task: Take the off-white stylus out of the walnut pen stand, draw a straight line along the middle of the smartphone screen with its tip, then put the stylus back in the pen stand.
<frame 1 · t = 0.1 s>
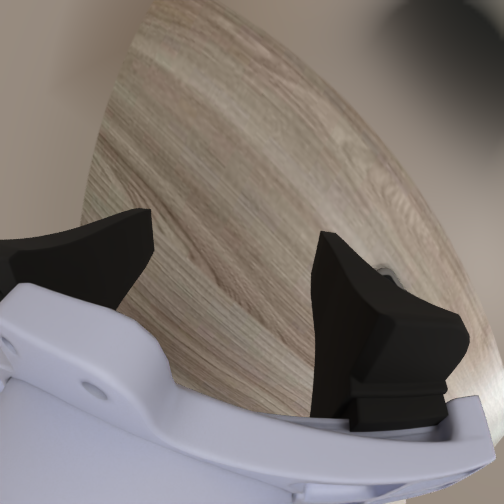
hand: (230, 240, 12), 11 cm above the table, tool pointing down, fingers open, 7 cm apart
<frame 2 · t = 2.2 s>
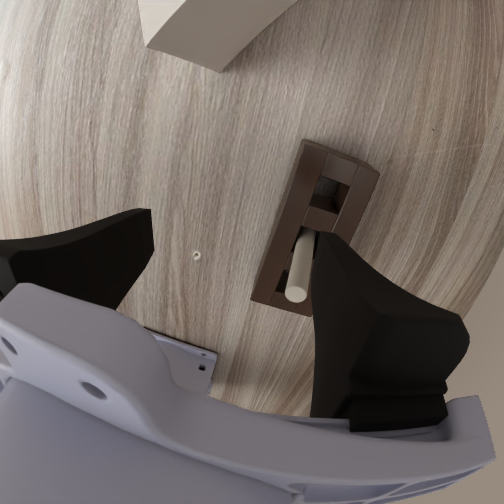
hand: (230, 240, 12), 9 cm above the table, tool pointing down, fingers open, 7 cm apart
stylus: (303, 254, 18), in the pen stand, tilted 9°
pen stand: (308, 225, 21), on the table
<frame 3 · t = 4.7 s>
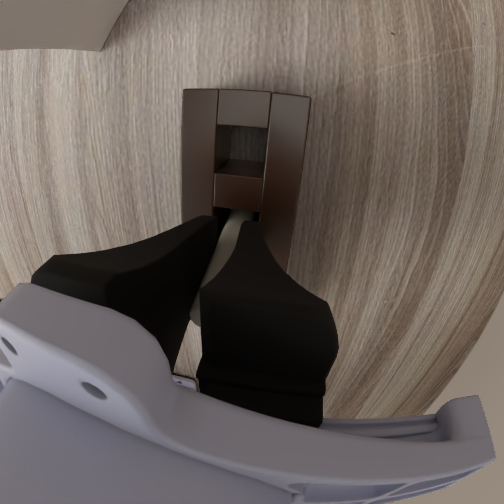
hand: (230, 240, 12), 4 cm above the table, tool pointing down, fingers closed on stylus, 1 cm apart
stylus: (230, 249, 12), in the pen stand, tilted 8°, touching gripper
pen stand: (245, 206, 15), on the table
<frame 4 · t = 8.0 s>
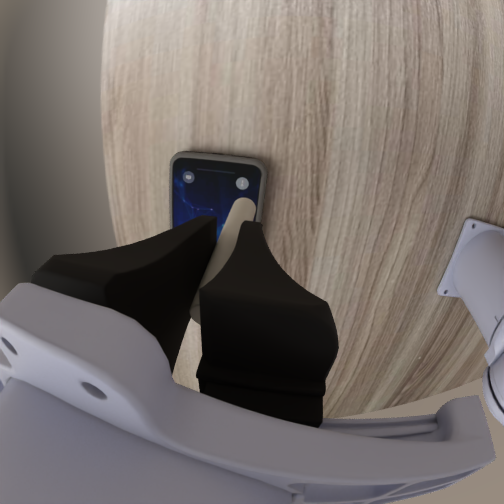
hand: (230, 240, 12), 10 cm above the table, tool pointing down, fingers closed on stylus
stylus: (230, 246, 12), point 10 cm above the table, tilted 8°, touching gripper
smartphone: (214, 242, 23), on the table
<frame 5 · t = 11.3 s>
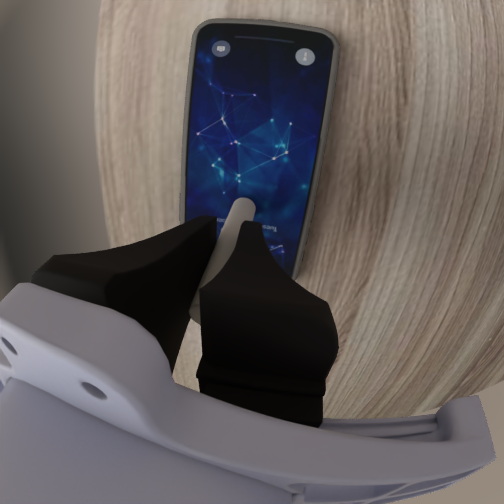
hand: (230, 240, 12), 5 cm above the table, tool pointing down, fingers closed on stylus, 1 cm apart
stylus: (230, 246, 12), point 5 cm above the table, tilted 8°, touching gripper
smartphone: (251, 157, 14), on the table
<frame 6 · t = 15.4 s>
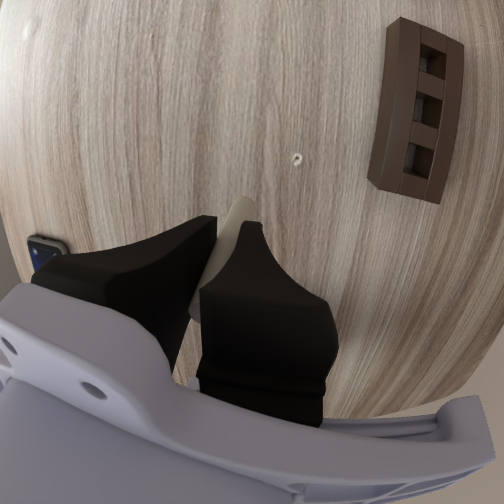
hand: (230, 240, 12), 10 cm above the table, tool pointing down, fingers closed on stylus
stylus: (229, 245, 12), point 10 cm above the table, tilted 9°, touching gripper
smartphone: (60, 288, 30), on the table
pen stand: (410, 109, 16), on the table
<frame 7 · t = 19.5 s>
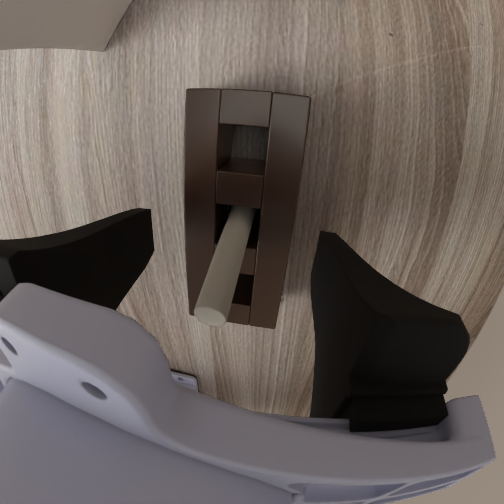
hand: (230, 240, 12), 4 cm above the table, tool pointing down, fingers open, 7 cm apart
stylus: (232, 245, 12), in the pen stand, tilted 13°
pen stand: (246, 203, 15), on the table
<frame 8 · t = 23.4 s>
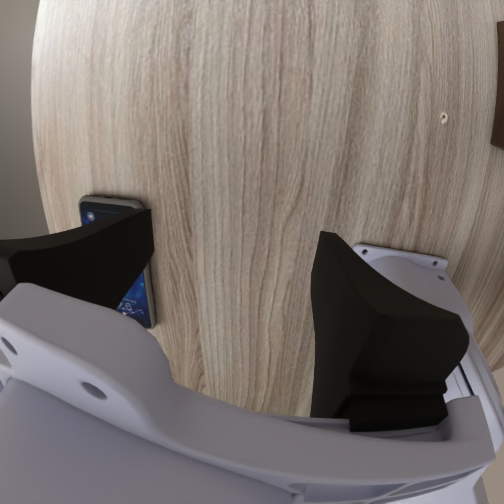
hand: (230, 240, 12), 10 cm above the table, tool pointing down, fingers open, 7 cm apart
smartphone: (120, 265, 26), on the table
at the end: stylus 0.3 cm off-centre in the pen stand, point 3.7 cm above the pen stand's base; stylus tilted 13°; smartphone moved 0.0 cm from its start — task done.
